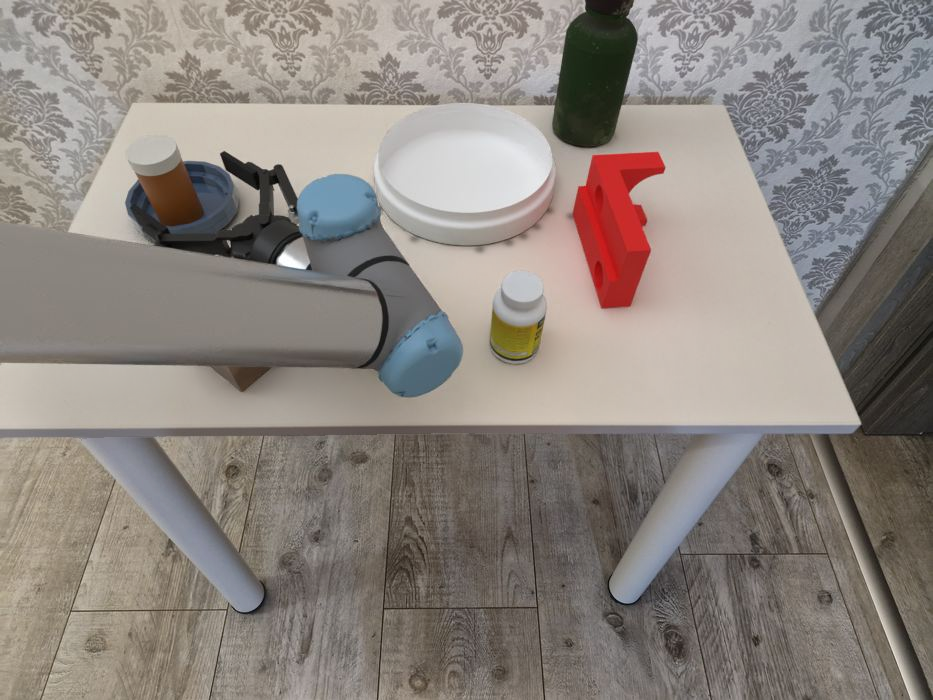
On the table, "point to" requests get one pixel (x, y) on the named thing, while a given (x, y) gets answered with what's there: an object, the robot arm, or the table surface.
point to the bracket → (615, 223)
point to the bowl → (210, 190)
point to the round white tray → (464, 174)
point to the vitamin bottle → (164, 179)
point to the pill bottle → (518, 317)
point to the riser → (241, 375)
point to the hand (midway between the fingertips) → (182, 186)
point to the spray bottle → (594, 72)
